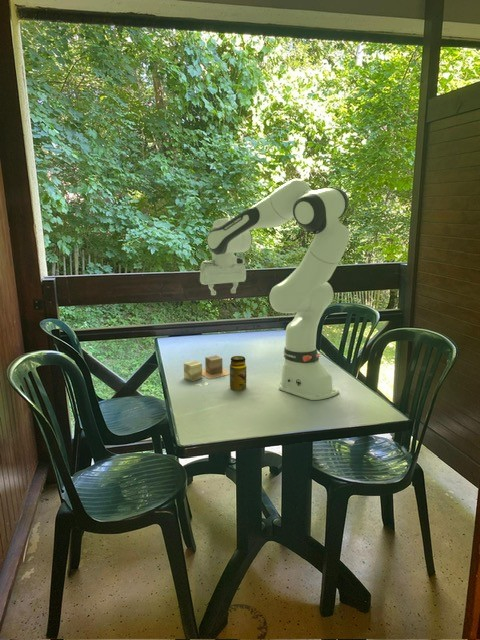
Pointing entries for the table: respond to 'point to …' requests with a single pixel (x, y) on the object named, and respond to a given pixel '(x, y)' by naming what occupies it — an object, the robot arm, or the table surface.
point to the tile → (201, 385)
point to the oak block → (192, 370)
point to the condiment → (238, 373)
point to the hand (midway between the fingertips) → (223, 294)
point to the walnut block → (213, 365)
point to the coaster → (214, 374)
